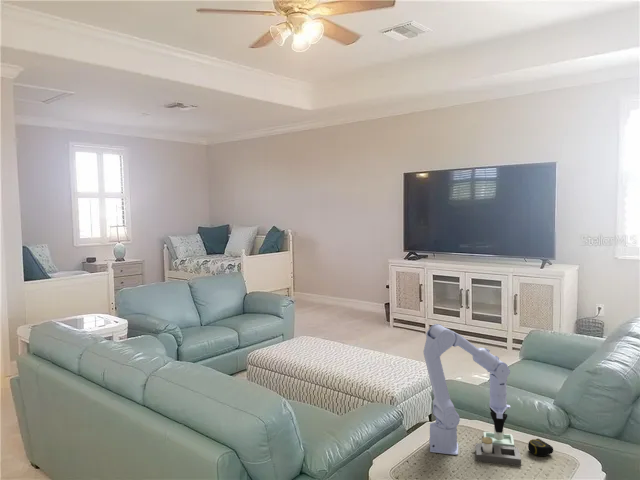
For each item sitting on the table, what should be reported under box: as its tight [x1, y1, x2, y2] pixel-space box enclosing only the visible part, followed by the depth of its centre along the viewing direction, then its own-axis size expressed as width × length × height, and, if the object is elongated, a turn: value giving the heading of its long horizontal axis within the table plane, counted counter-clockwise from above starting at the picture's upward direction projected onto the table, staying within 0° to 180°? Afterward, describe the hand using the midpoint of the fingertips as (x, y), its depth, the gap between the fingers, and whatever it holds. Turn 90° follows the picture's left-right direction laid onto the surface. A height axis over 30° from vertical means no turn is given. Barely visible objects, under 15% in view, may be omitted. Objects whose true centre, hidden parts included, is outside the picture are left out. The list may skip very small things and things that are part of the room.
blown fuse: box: [493, 425, 505, 440], centre depth 174 cm, size 3×3×6 cm
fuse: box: [481, 436, 492, 454], centre depth 165 cm, size 3×3×6 cm
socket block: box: [475, 443, 522, 467], centre depth 164 cm, size 14×8×2 cm, turn 73°
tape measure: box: [527, 438, 554, 457], centre depth 166 cm, size 7×7×4 cm
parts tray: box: [483, 431, 515, 447], centre depth 174 cm, size 10×8×2 cm
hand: (498, 429), depth 174 cm, fingers closed on blown fuse, 3 cm apart
